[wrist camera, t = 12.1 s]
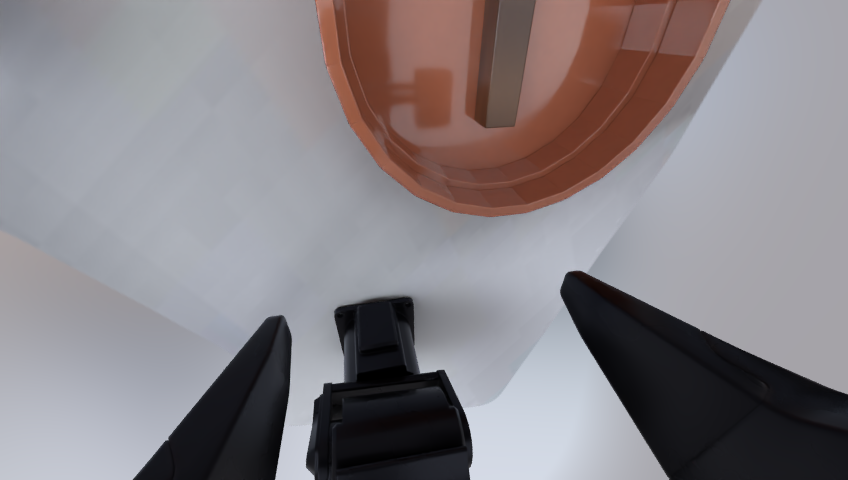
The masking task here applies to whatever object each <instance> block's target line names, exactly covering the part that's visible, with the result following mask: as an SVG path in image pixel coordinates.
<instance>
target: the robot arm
mask: <svg viewBox="0 0 848 480" xmlns="http://www.w3.org/2000/svg"><path fill="white" fill-rule="evenodd" d="M560 293H561V297H562V299H563V301H564V303H565V305H566V307H567V309H568V311H569V313H570V315H571V317H572V320H573V322H574V324H575V326H576V328H577V330H578V332H579V334H580V335H581V337H582V339H583V341H584V342H585V344H586V346H587V347H588V349H589V350H590V352H591V354H592V355H593V356H594V358H595V360H596V362H597V363H598V365H599V367H600V368H601V370H602V371H603V373H604V375H605V376H606V378H607V380H608V381H609V383H610V384H611V386H612V388H613V389H614V391H615V392H616V394H617V396H618V397H619V399H620V401H621V402H622V404H623V405H624V407H625V408H626V410H627V412H628V413H629V415H630V417H631V418H632V420H633V422H634V423H635V425H636V426H637V428H638V430H639V431H640V433H641V435H642V436H643V437H644V439H645V441H646V443H647V444H648V446H649V447H650V449H651V451H652V452H653V454H654V455H655V457H656V459H657V460H658V462H659V464H660V465H661V467H662V468H663V470H664V472H665V473H666V475H667V477H669V480H848V394H845V393H842V392H839V391H836V390H833V389H831V388H828V387H826V386H823V385H821V384H819V383H817V382H814V381H812V380H810V379H807V378H805V377H803V376H800V375H798V374H796V373H793V372H791V371H789V370H787V369H784V368H782V367H780V366H777V365H775V364H773V363H771V362H768V361H766V360H763V359H762V358H759V357H757V356H755V355H752V354H750V353H748V352H746V351H743V350H741V349H739V348H737V347H735V346H733V345H731V344H729V343H726V342H724V341H722V340H720V339H718V338H716V337H714V336H712V335H710V334H708V333H706V332H704V331H700V330H699V329H698V328H696V327H694V326H692V325H690V324H688V323H686V322H683V321H682V320H679V319H677V318H675V317H673V316H671V315H669V314H667V313H665V312H663V311H661V310H659V309H657V308H655V307H653V306H651V305H649V304H647V303H645V302H643V301H641V300H639V299H637V298H635V297H633V296H631V295H629V294H626V293H625V292H622V291H620V290H619V289H616V288H614V287H612V286H610V285H608V284H606V283H604V282H602V281H600V280H598V279H596V278H594V277H592V276H590V275H588V274H586V273H584V272H582V271H571V272H568V273H567V274H566V275H565V278H564V281H563V284H562V286H561V289H560ZM406 303H408V304H406ZM334 317H335V321H336V325H337V329H338V334H339V338H340V342H341V346H342V350H343V354H344V383H337V384H332V383H325V384H324V388H323V394H322V395H320V397H319V398H317V399H316V400H314V413H313V424H312V431H311V436H310V441H309V446H308V452H307V458H306V468H307V469H308V470H309V471H310V472H311V473H312V474H313V475H314V476H315V480H470V475H469V468H470V467H471V464H472V457H473V455H472V454H473V453H472V439H471V433H470V429H469V424H468V421H467V418H466V415H465V412H464V410H463V408H462V406H461V404H460V402H459V400H458V398H457V395H456V393H455V391H454V389H453V387H452V385H451V383H450V381H449V379H448V377H447V375H446V373H445V371H444V370H437V371H436V372H430V373H422V374H420V370H419V366H418V361H417V357H416V352H415V348H414V304H413V300H412V299H411V298H401V299H394V300H388V301H381V302H375V303H368V304H362V305H355V306H349V307H342V308H338V309H336V310H335V314H334ZM291 346H292V337H291V333H290V330H289V327H288V325H287V322H286V319H285V317H284V316H282V315H279V316H272V317H268V318H267V319H266V320H265V321H264V322H263V323H262V325H261V326H260V327H259V328H258V330H257V331H256V332H255V333H254V334H253V336H252V337H251V338H250V339H249V340H248V342H247V343H246V344H245V345H244V347H243V348H242V349H241V350H240V351H239V353H238V354H237V355H236V356H235V357H234V359H233V360H232V361H231V362H230V364H229V365H228V366H227V367H226V368H225V370H224V371H223V372H222V374H220V376H219V377H218V378H217V379H216V381H215V382H214V383H213V384H212V385H211V386H210V388H209V389H208V390H207V391H206V393H205V394H204V395H203V396H202V398H201V399H200V400H199V401H198V402H197V403H196V405H195V406H194V407H193V408H192V410H191V411H190V412H189V413H188V414H187V416H186V417H185V418H184V419H183V420H182V422H181V423H180V424H179V425H178V426H177V428H176V429H175V430H174V431H173V433H172V434H171V435H170V436H169V438H168V439H169V440H167V441H165V442H164V443H163V445H162V446H161V447H160V448H159V449H158V451H157V452H156V453H155V454H154V455H153V457H152V458H151V459H150V460H149V461H148V462H147V464H146V465H145V466H144V467H143V468H142V470H141V471H140V472H139V473H138V474H137V475H136V477H135V478H134V479H133V480H275V477H276V471H277V465H278V458H279V452H280V447H281V440H282V434H283V428H284V422H285V416H286V410H287V404H288V397H289V388H290V368H291Z"/></svg>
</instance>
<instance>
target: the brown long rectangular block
mask: <svg viewBox="0 0 848 480" xmlns="http://www.w3.org/2000/svg"><path fill="white" fill-rule="evenodd" d="M535 2H536V0H485V9H484V20H483V30H482V41H481V52H480V63H479V74H478V85H477V95H476V106H475V117H474V120H475V121H476V122H477V123H479V124H480V125H481V126H483V127H484V128H501V127H514V126H515V122H516V116H517V110H518V104H519V98H520V92H521V86H522V80H523V74H524V68H525V62H526V56H527V50H528V44H529V38H530V32H531V26H532V20H533V14H534V8H535Z"/></svg>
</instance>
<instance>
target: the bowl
mask: <svg viewBox="0 0 848 480" xmlns="http://www.w3.org/2000/svg"><path fill="white" fill-rule="evenodd" d="M315 3H316V9H317V16H318V22H319V28H320V35H321V41H322V47H323V54H324V60H325V64H326V68H327V71H328V73H329V76H330V78H331V81H332V83H333V86H334V88H335V91H336V93H337V96H338V98H339V101H340V103H341V106H342V108H343V111H344V113H345V116H346V118H347V121H348V123H349V124H350V127H351V128H352V130H353V131H354V132H355V134H356V135H357V136H358V138H359V139H360V141H361V142H362V143H363V145H364V146H365V147H366V149H367V150H368V152H369V153H370V154H371V156H372V157H373V159H374V160H375V161H376V163H377V164H378V165H379V167H381V169H382V170H383V171H385V172H386V173H387V174H388V175H390V176H391V177H392V178H393V179H395V180H396V181H397V182H398V183H400V184H401V185H402V186H403V187H404V188H406V189H407V190H408V191H409V192H411V193H412V194H413V195H415V196H416V197H418V198H421V199H423V200H425V201H428V202H430V203H432V204H435V205H437V206H439V207H442V208H444V209H446V210H449V211H452V212H456V213H463V214H470V215H478V216H485V217H495V216H504V215H513V214H522V213H527V212H531V211H534V210H537V209H540V208H542V207H545V206H548V205H551V204H554V203H557V202H560V201H563V200H564V199H567V198H569V197H570V196H572V195H574V194H575V193H577V192H579V191H581V190H582V189H584V188H586V187H587V186H589V185H591V184H593V183H594V182H596V181H598V180H599V179H601V178H603V177H604V176H605V175H606V174H607V173H609V172H610V171H611V170H612V169H613V168H615V167H616V166H617V165H618V164H619V163H621V162H622V161H623V160H624V159H625V158H627V157H628V156H629V155H630V154H631V153H633V152H634V151H635V150H636V149H637V147H639V146H640V145H641V143H642V142H643V141H644V140H645V139H646V138H647V137H648V135H649V134H650V133H651V132H652V131H653V130H654V129H655V127H656V126H657V125H658V124H659V123H660V122H661V121H662V119H663V118H664V117H665V116H666V115H667V114H668V113H669V111H670V110H671V108H672V107H673V106H674V105H675V103H676V102H677V100H678V98H679V97H680V95H681V94H682V92H683V91H684V89H685V87H686V86H687V84H688V83H689V81H690V80H691V78H692V77H693V75H694V73H695V72H696V70H697V69H698V67H699V66H700V64H701V63H702V61H703V58H704V57H705V56H706V53H707V51H708V49H709V47H710V45H711V42H712V40H713V38H714V36H715V34H716V31H717V29H718V27H719V25H720V23H721V20H722V18H723V16H724V14H725V12H726V9H727V7H728V5H729V3H730V0H536V2H535V8H534V14H533V20H532V26H531V32H530V38H529V44H528V50H527V56H526V62H525V68H524V74H523V80H522V86H521V92H520V98H519V104H518V110H517V116H516V122H515V126H514V127H501V128H484V127H483V126H481V125H480V124H479V123H477V122H476V121H475V120H474V117H475V106H476V95H477V85H478V74H479V63H480V52H481V41H482V30H483V20H484V9H485V0H315Z"/></svg>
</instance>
